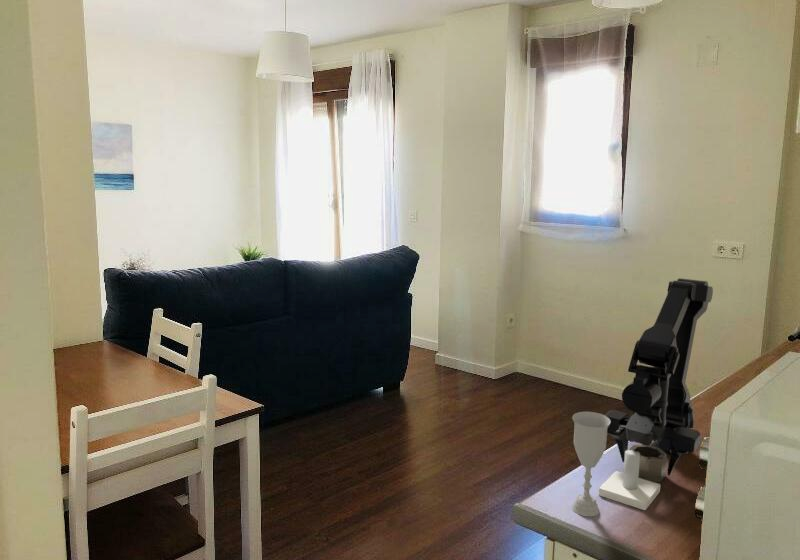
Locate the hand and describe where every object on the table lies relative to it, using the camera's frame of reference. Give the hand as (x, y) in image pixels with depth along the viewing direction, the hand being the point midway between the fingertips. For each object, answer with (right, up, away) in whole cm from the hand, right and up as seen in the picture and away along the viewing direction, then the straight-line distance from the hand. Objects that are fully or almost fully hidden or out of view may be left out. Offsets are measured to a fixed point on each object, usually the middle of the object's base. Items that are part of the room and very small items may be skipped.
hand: (646, 468), depth 135 cm
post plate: (-6, -3, -7) cm, 10 cm away
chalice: (-16, -4, -13) cm, 22 cm away
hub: (0, -1, 0) cm, 1 cm away
